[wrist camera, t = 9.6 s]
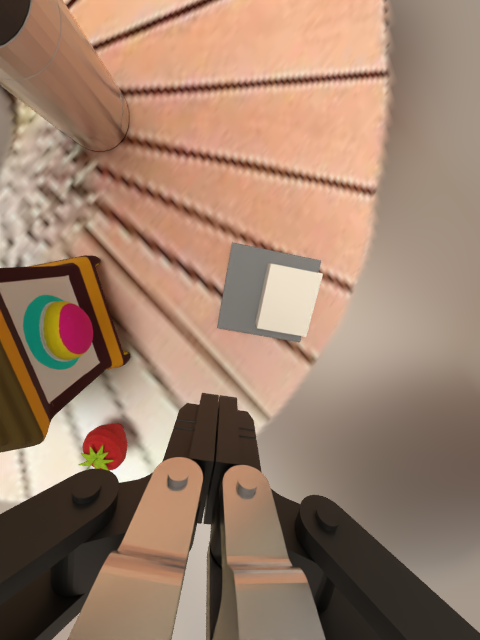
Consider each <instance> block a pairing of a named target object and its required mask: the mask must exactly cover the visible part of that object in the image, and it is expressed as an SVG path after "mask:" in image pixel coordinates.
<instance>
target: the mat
mask: <svg viewBox="0 0 480 640" xmlns="http://www.w3.org/2000/svg"><path fill="white" fill-rule="evenodd" d="M268 263H271V264H276V265H281V266H286V267H291V268H296V269H301V270H306V271H311V272H316V273H318V271H319V267H320V264H321V261H320V260H315V259H310V258H305V257H300V256H296V255H291V254H286V253H281V252H276V251H271V250H266V249H261V248H256V247H252V246H247V245H242V244H237V243H232V247H231V253H230V258H229V264H228V270H227V275H226V281H225V286H224V292H223V298H222V303H221V309H220V315H219V320H218V326H217V328H220V329H226V330H231V331H237V332H243V333H249V334H254V335H260V336H266V337H272V338H278V339H283V340H289V341H295V342H300V340H301V336H298V335H293V334H287V333H281V332H276V331H270V330H264V329H259V328H257V327H256V324H255V321H256V317H257V312H258V307H259V302H260V298H261V293H262V288H263V284H264V279H265V274H266V270H267V265H268Z"/></svg>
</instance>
